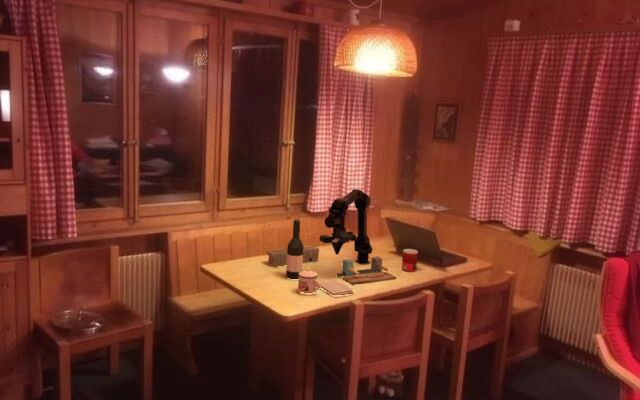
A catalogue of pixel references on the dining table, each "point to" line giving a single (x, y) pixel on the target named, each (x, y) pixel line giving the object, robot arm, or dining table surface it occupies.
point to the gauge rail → (375, 267)
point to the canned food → (409, 260)
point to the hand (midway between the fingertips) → (336, 254)
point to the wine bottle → (294, 253)
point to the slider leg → (349, 267)
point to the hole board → (369, 278)
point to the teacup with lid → (308, 281)
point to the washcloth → (336, 287)
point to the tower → (280, 255)
